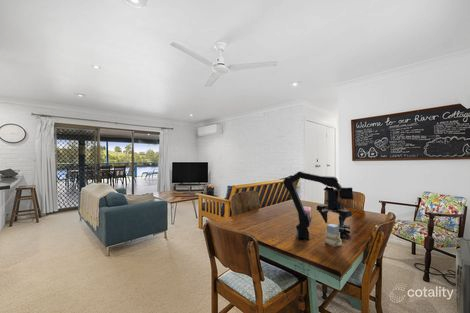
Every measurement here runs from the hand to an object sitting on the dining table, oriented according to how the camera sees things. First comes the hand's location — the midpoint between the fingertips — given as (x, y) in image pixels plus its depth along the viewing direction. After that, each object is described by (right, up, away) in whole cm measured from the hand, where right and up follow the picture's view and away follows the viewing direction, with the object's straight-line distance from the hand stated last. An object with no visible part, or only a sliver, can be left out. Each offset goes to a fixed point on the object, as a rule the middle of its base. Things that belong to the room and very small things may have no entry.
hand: (333, 225), depth 115 cm
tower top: (0, -8, +1) cm, 8 cm away
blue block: (0, -4, 0) cm, 4 cm away
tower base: (0, -11, 0) cm, 11 cm away
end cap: (+11, -11, +12) cm, 20 cm away
